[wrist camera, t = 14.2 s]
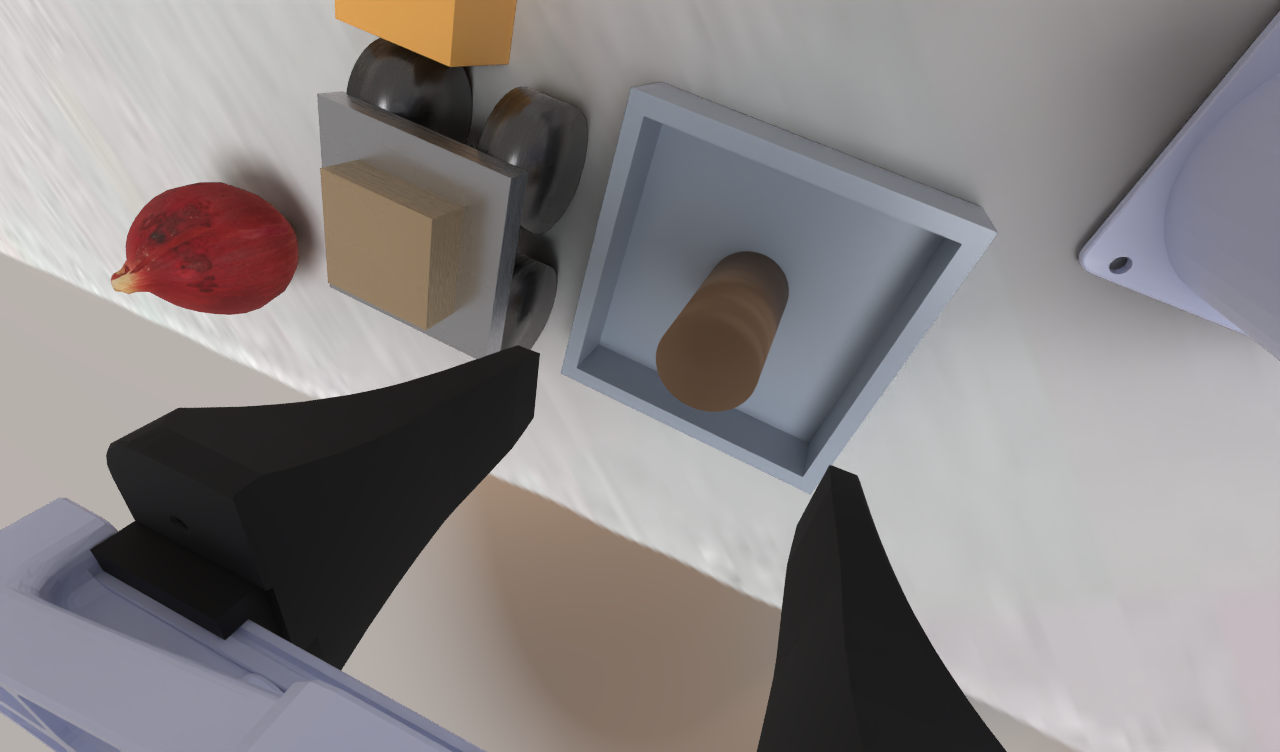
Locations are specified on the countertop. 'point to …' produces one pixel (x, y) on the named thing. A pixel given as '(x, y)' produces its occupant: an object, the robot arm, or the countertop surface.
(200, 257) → the onion
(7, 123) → the countertop surface
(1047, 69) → the countertop surface
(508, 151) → the trolley
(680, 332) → the pin
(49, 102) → the countertop surface
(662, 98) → the tray
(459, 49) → the block
